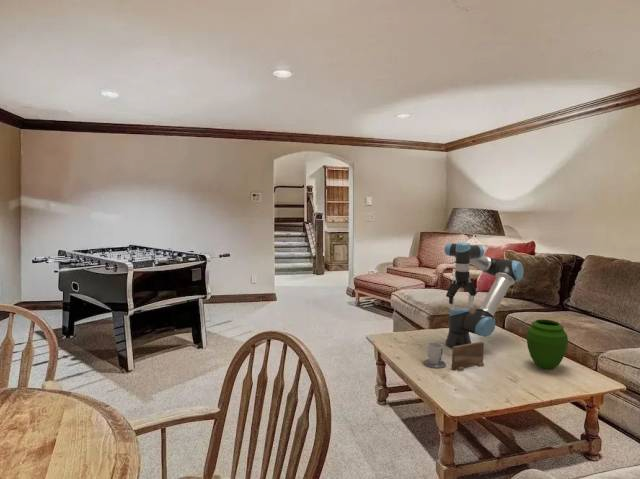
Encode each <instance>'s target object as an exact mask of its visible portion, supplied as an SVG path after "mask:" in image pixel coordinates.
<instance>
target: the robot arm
mask: <svg viewBox="0 0 640 479" xmlns="http://www.w3.org/2000/svg"><path fill="white" fill-rule="evenodd" d="M444 253H445V255H446V256H450V257H454V258H455V267H454V268H455V269H454V270H455V271H454V277H455V280H454V279H451V280H450V285H449V287H448V290H447V292H446V294H445V296H446V297H447V298H448V303H449V315H448V334H447V336H446V340H445V345H446V346H447V347H449V348H451V349H452V347H455V346H460V345H465V344H470V343H472V341H471V337H470V333H471V334H474V335H477V336H481V337H489V336H490V335H492V334H493V332H494V331H495V329H496V320H495V316H494V315H495V313H496V312H497V310H498V309H499V306H500V305H501V302H502V301H503V298H505V295H506V294H507V292H508V289H509V288H510V286H513V285H514V284H515V282H516V281H521V280H522V279H523V278H524V277H523V276H524V273H525V272H524V270H525V269H524V266H523V264H522V262H520V261H519V260H513V259H503V258H494V257H489V256H486V255H485V249H484V247H483V246H482V245H480V244H479V245H478V244H474V245H473V244H470V243H469V242H457V243H453V242H452V243H451V242H449V243H447V244H446V245H445V246H444ZM484 255H485V256H484ZM471 265H472V266H475V267H477V269H478V270H480V271H481V272H484V273H485V274H488V275H490V276H493V277H495V280H494V282H493V284H492V285H491V288H490V289H489V291H488V293H487V294H486V296H485V298H484V299H483V301H482V303H481V304H480V306H479V307H477V308H475V310H474V311H473V312H471V310H470V308H474V298H475V297H476V295H477V294H478V292H477V289H476V287H475V285H474V278H472V277H470V269H471V268H470V267H471ZM462 288H465V289H466V291H467V292H468V299H467V300H468V301H467V303H468V305H467V307H455V296H456V294H457V293H458V291H459V290H460V289H462ZM468 307H469V308H468Z"/></svg>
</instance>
